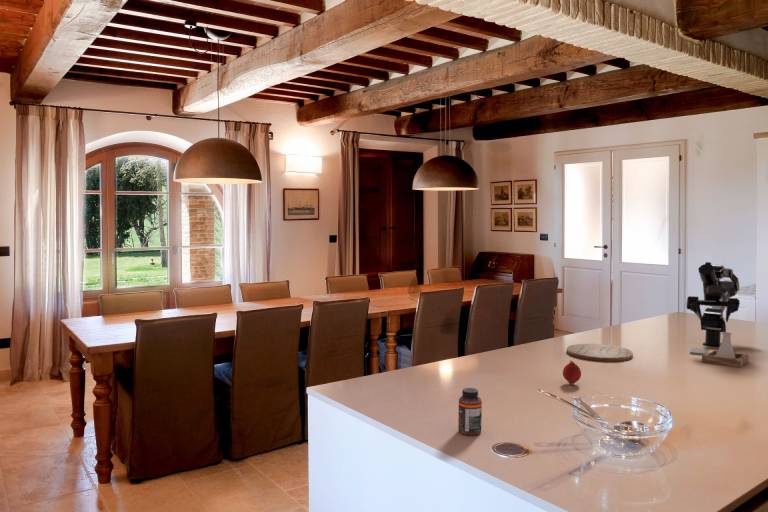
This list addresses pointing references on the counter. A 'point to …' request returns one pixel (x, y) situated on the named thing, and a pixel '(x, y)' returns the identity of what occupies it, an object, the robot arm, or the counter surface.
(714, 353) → the tray
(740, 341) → the counter surface
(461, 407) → the supplement bottle
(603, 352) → the trivet
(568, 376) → the onion
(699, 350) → the slate coaster
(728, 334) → the flask
